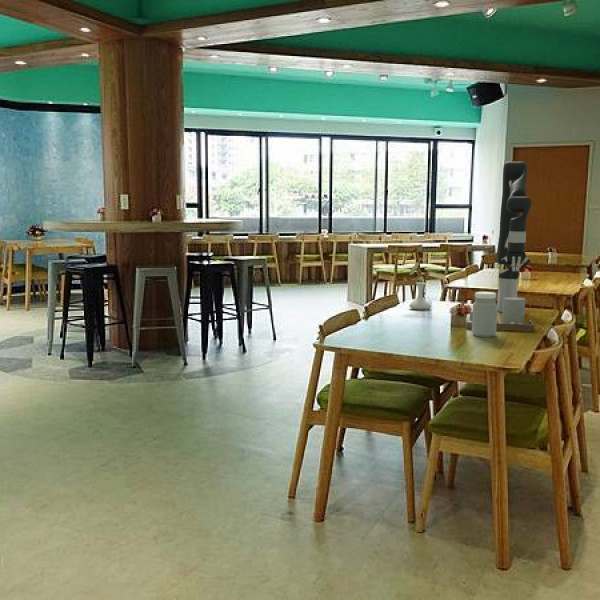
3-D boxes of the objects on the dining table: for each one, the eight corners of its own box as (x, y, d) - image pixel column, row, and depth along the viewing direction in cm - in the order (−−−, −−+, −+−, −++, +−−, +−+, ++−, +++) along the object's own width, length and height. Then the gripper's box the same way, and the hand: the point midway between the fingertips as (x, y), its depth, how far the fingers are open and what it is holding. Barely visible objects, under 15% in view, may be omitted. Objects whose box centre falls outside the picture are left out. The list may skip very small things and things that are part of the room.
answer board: (465, 324, 296) (465, 316, 296) (530, 326, 290) (531, 319, 290) (466, 329, 284) (466, 321, 284) (534, 331, 278) (534, 324, 278)
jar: (500, 337, 268) (502, 294, 265) (478, 338, 266) (480, 294, 264) (489, 332, 278) (490, 290, 275) (467, 333, 276) (469, 291, 273)
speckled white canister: (521, 323, 299) (522, 296, 297) (526, 327, 289) (527, 300, 287) (500, 322, 300) (501, 296, 298) (504, 326, 290) (505, 299, 288)
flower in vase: (418, 306, 346) (419, 260, 343) (435, 309, 338) (437, 261, 334) (402, 309, 338) (403, 261, 334) (419, 312, 329) (420, 263, 326)
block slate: (470, 318, 312) (471, 310, 311) (479, 319, 310) (479, 310, 310) (469, 319, 308) (470, 311, 307) (478, 320, 306) (478, 312, 306)
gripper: (531, 240, 294) (529, 278, 297) (500, 240, 297) (499, 277, 300) (533, 242, 287) (531, 280, 290) (502, 241, 290) (500, 280, 293)
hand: (514, 279), depth 295 cm, fingers closed
